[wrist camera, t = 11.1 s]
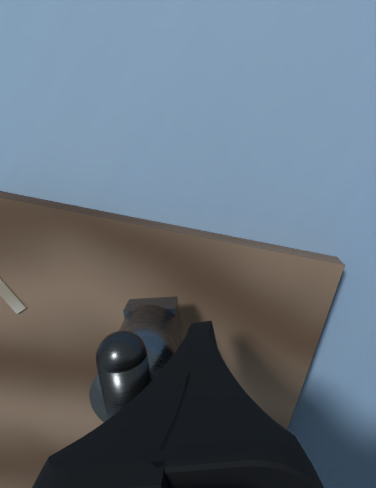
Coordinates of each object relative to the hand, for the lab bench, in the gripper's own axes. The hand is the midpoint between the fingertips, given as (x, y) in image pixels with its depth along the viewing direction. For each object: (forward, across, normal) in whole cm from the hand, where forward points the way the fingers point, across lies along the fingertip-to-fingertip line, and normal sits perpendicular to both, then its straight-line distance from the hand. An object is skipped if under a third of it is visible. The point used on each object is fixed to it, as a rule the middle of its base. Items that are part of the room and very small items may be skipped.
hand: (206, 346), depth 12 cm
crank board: (+4, +5, +5) cm, 8 cm away
